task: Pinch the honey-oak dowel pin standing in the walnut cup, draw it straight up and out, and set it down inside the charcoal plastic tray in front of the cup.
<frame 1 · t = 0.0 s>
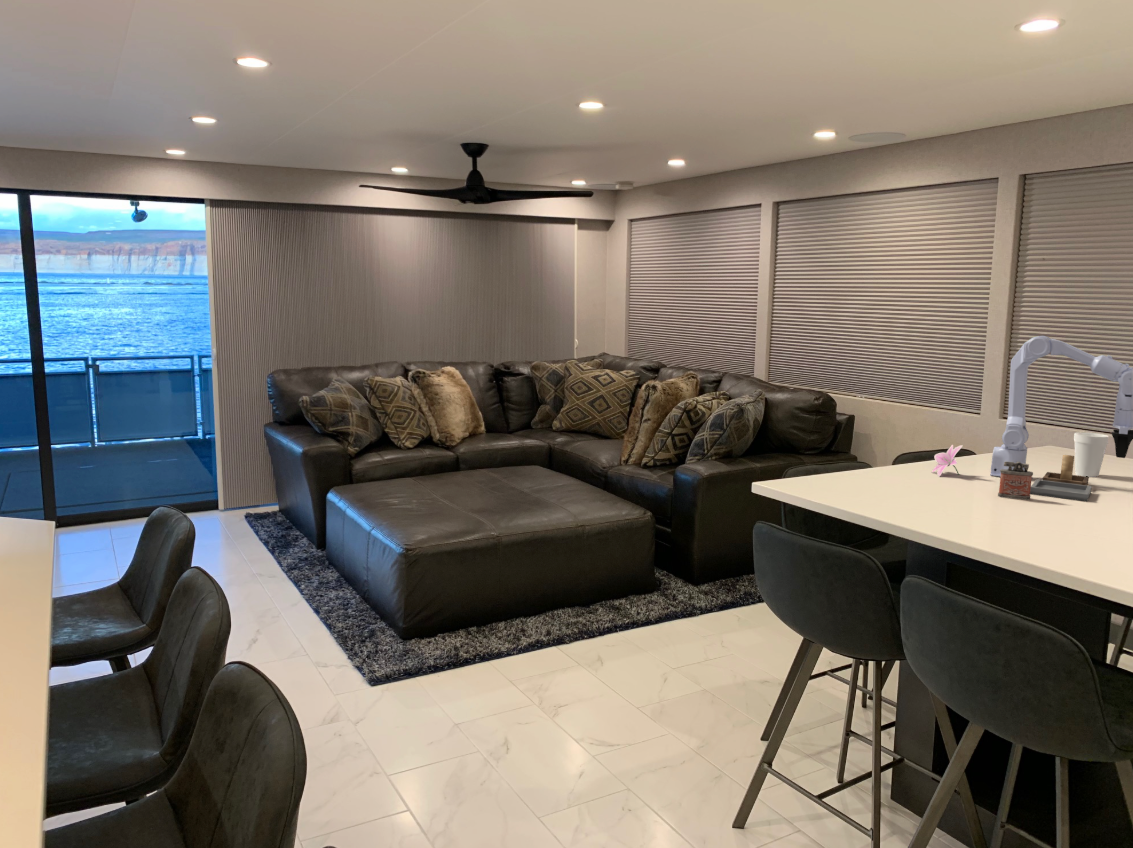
hand: (1121, 455, 251), 10 cm above the table, fingers open, 7 cm apart
foam cup: (1086, 475, 274), on the table
tray: (1060, 493, 245), on the table
lily: (945, 475, 269), on the table
pin: (1066, 470, 256), in the holder
lighter: (1013, 498, 239), on the table
holder: (1065, 485, 257), on the table
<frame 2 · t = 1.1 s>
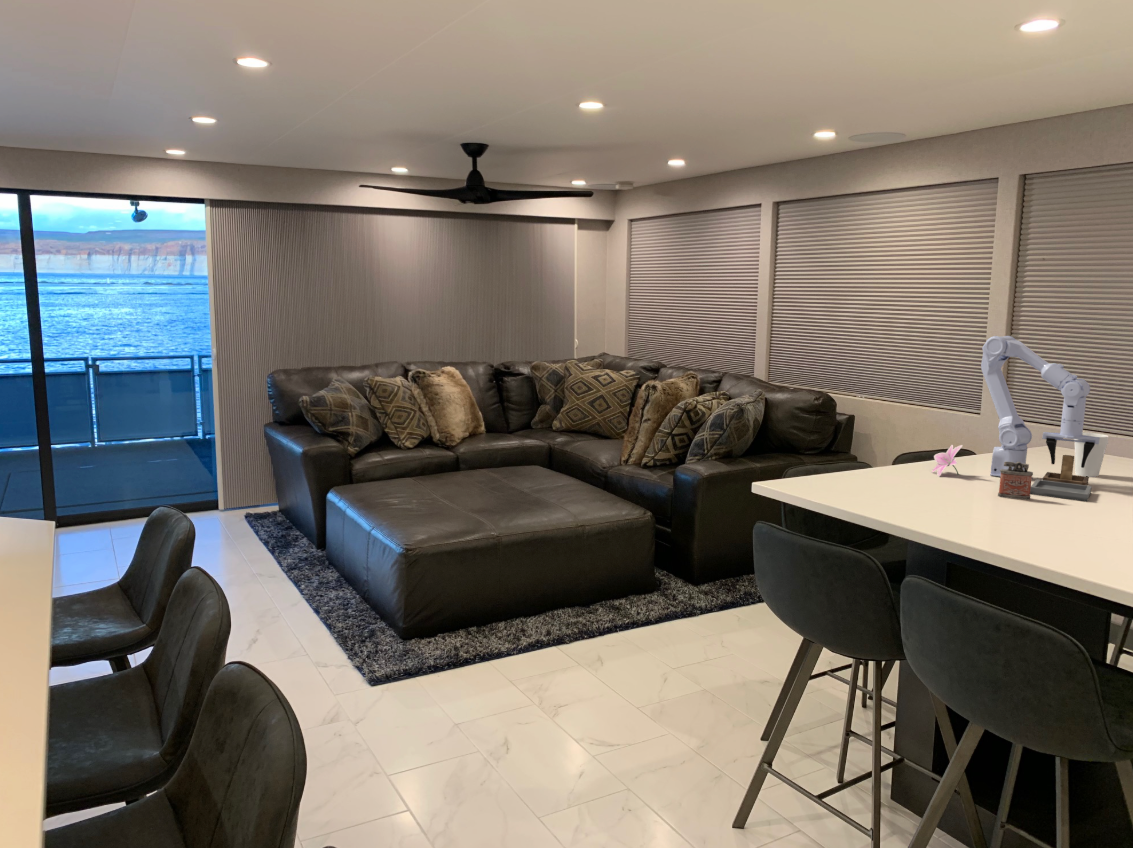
hand: (1067, 465, 256), 6 cm above the table, fingers open, 7 cm apart
nothing on the table moved.
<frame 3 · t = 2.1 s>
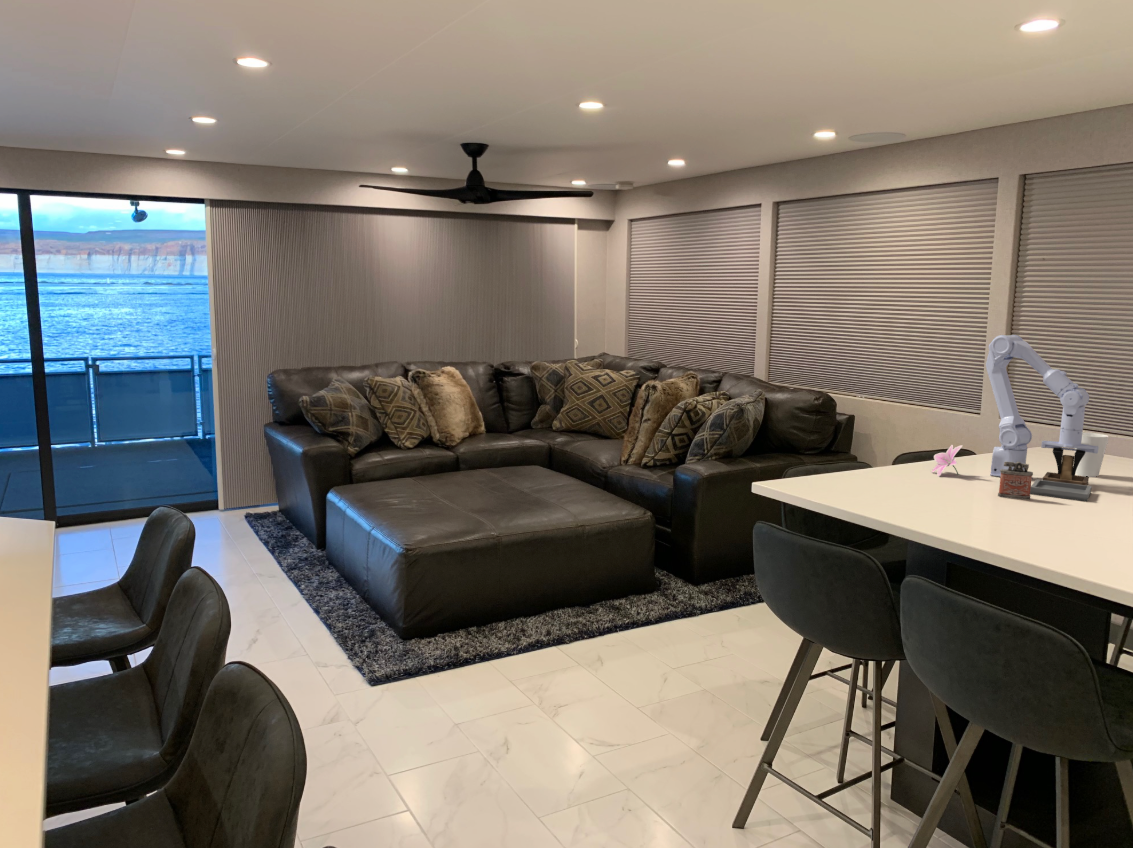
hand: (1066, 474, 256), 3 cm above the table, fingers closed on pin, 3 cm apart
pin: (1066, 470, 256), in the holder, touching gripper
everything else where it was.
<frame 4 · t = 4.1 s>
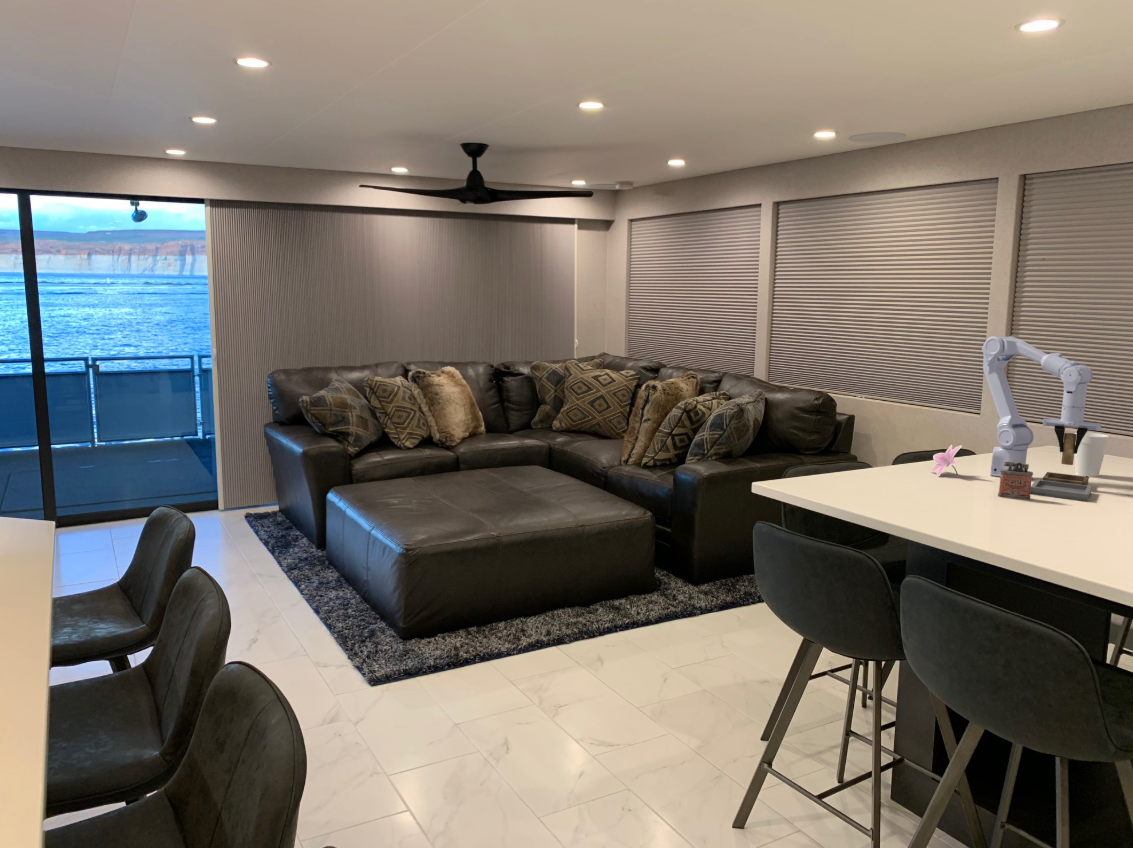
hand: (1068, 452, 252), 10 cm above the table, fingers closed on pin, 3 cm apart
pin: (1068, 448, 252), point 12 cm above the table, touching gripper
everything else where it was.
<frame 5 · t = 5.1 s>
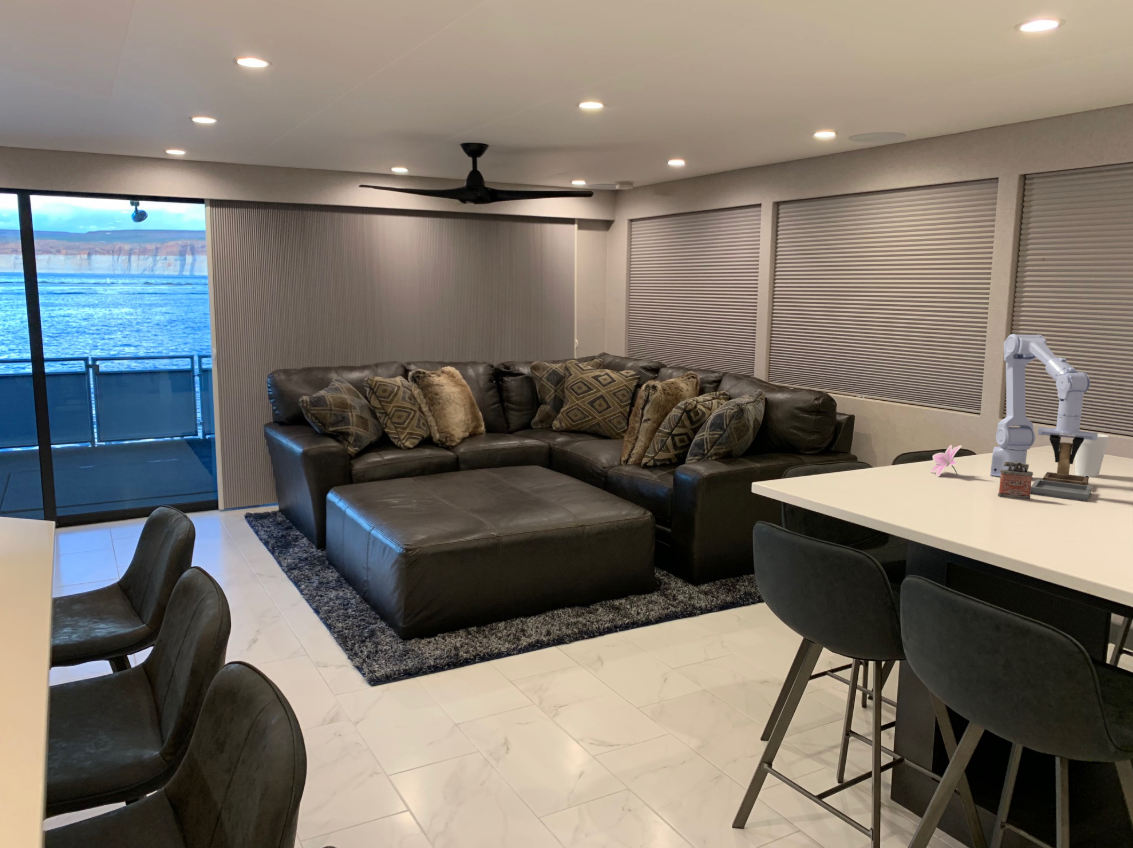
hand: (1064, 462, 244), 9 cm above the table, fingers closed on pin, 3 cm apart
pin: (1064, 458, 244), point 10 cm above the table, touching gripper
everything else where it was.
when the fingers open (5 cm above the table, at t = 6.0 s): pin stays where it is, resting on tray.
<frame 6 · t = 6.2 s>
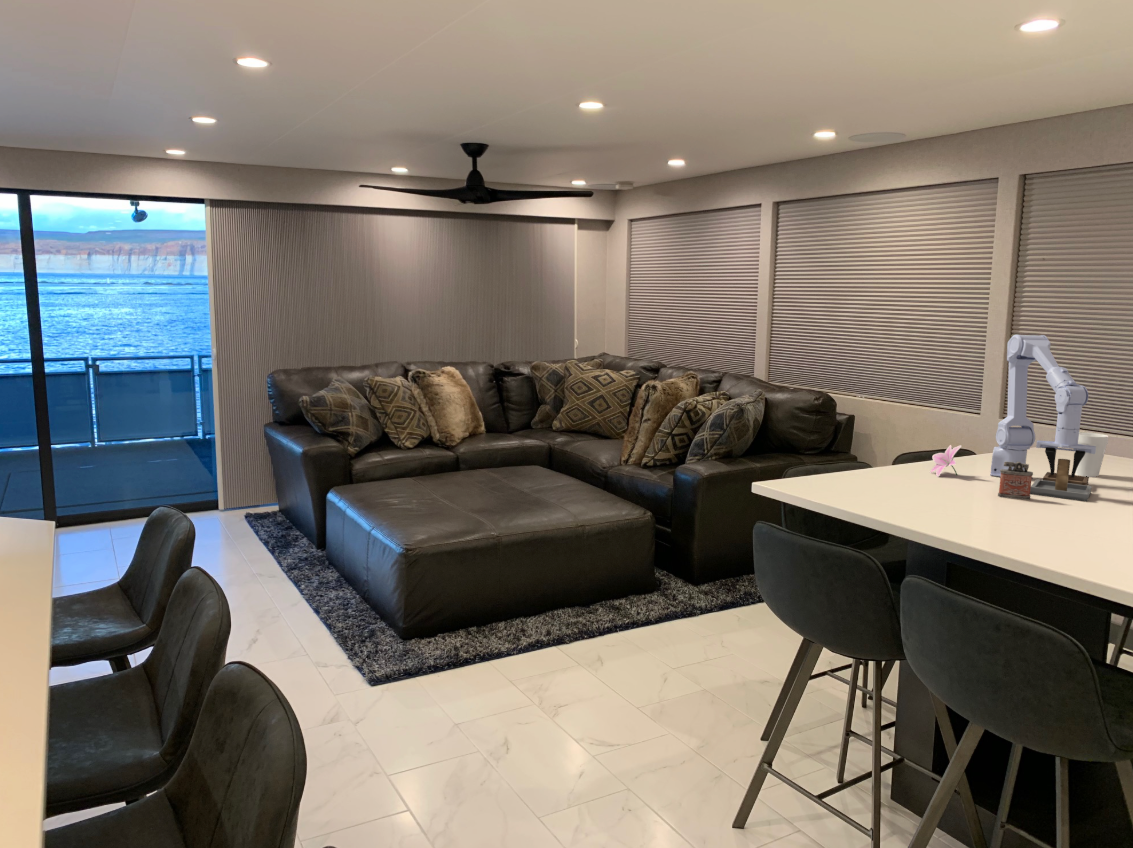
hand: (1062, 475, 244), 5 cm above the table, fingers open, 4 cm apart
pin: (1062, 475, 244), in the tray, point 5 cm above the table
everything else where it was.
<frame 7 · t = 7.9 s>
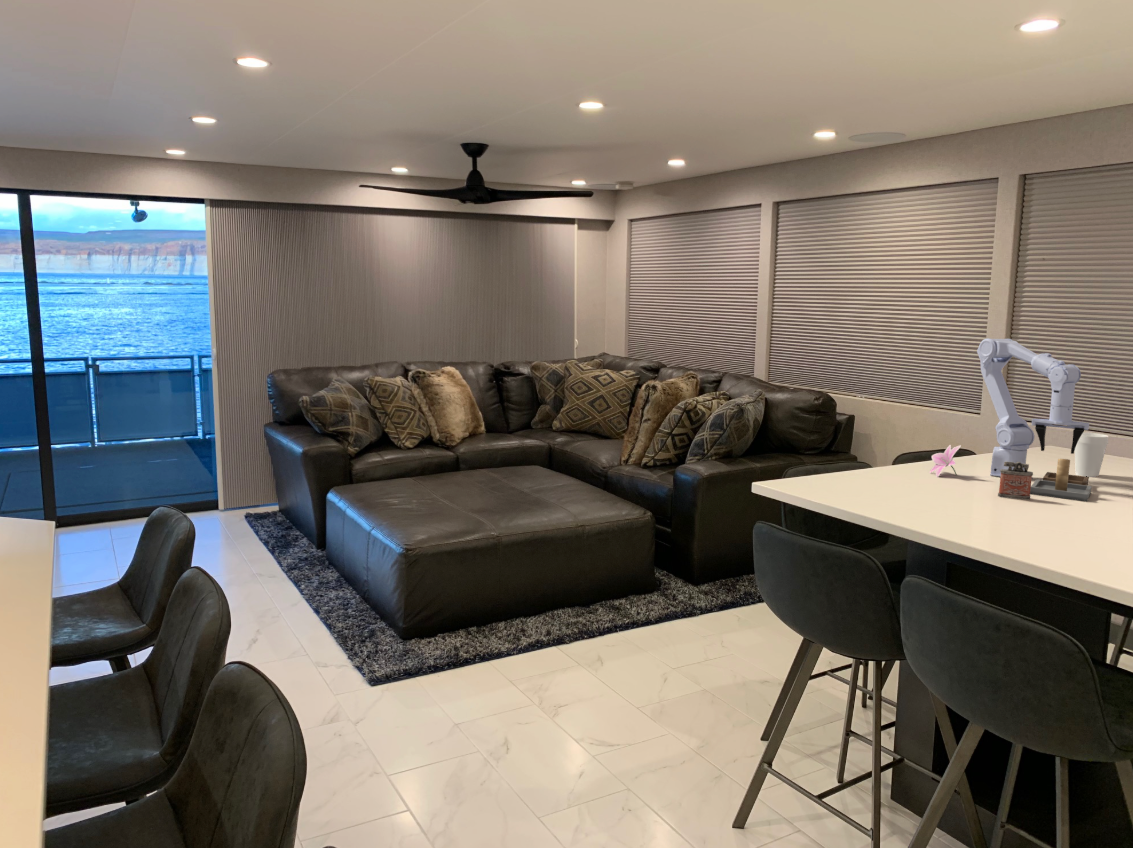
hand: (1057, 451, 253), 10 cm above the table, fingers open, 7 cm apart
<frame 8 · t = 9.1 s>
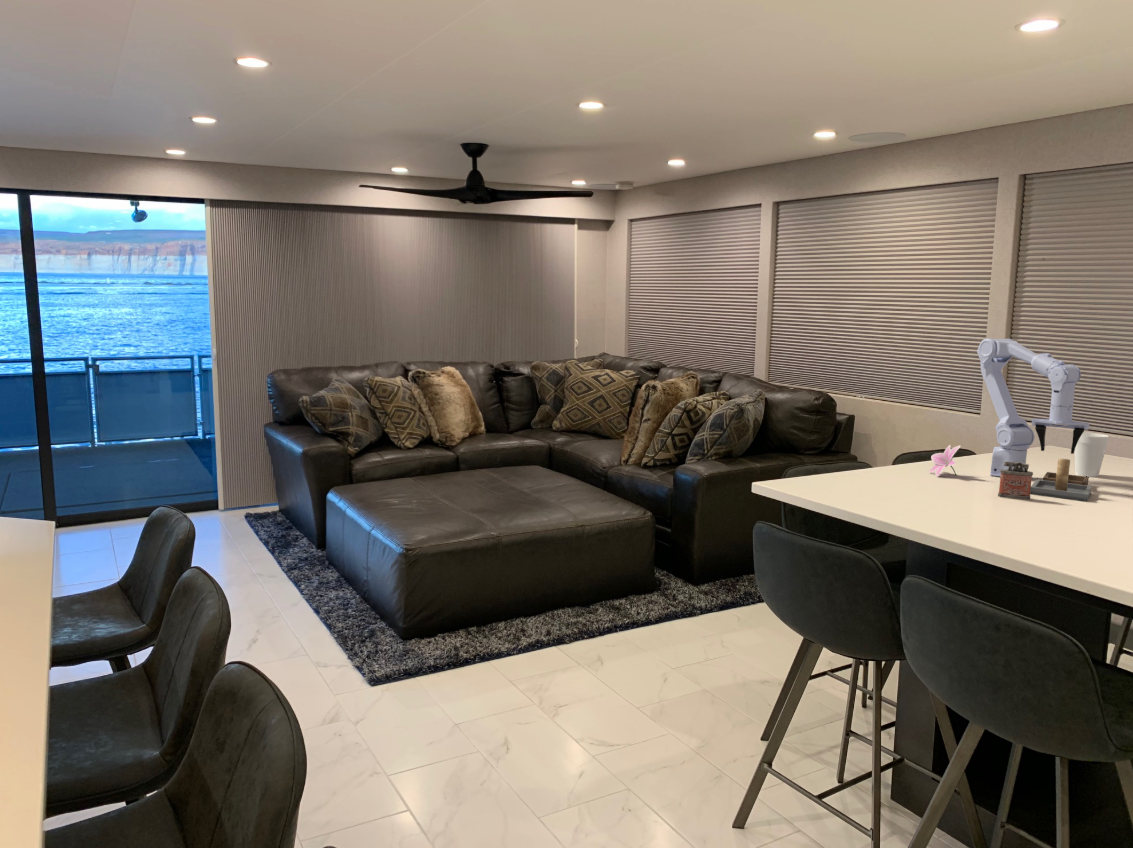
hand: (1057, 451, 253), 10 cm above the table, fingers open, 7 cm apart
at the end: pin inside the target area on the tray (0.0 cm from its centre), point 5.3 cm above the tray's base; the gripper is holding nothing; pin touching tray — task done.
